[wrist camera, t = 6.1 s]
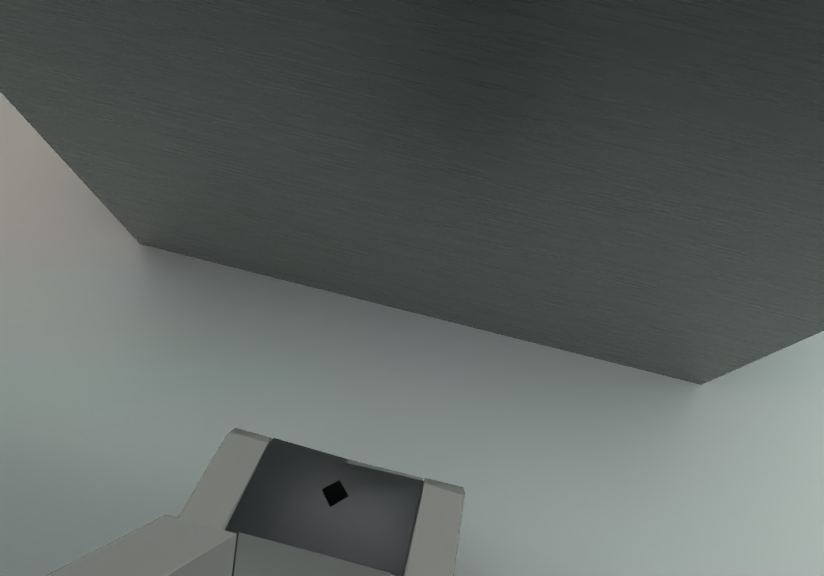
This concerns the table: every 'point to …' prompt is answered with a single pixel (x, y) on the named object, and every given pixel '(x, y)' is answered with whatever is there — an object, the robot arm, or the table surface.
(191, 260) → the table surface
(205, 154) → the iron bookend
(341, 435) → the table surface
